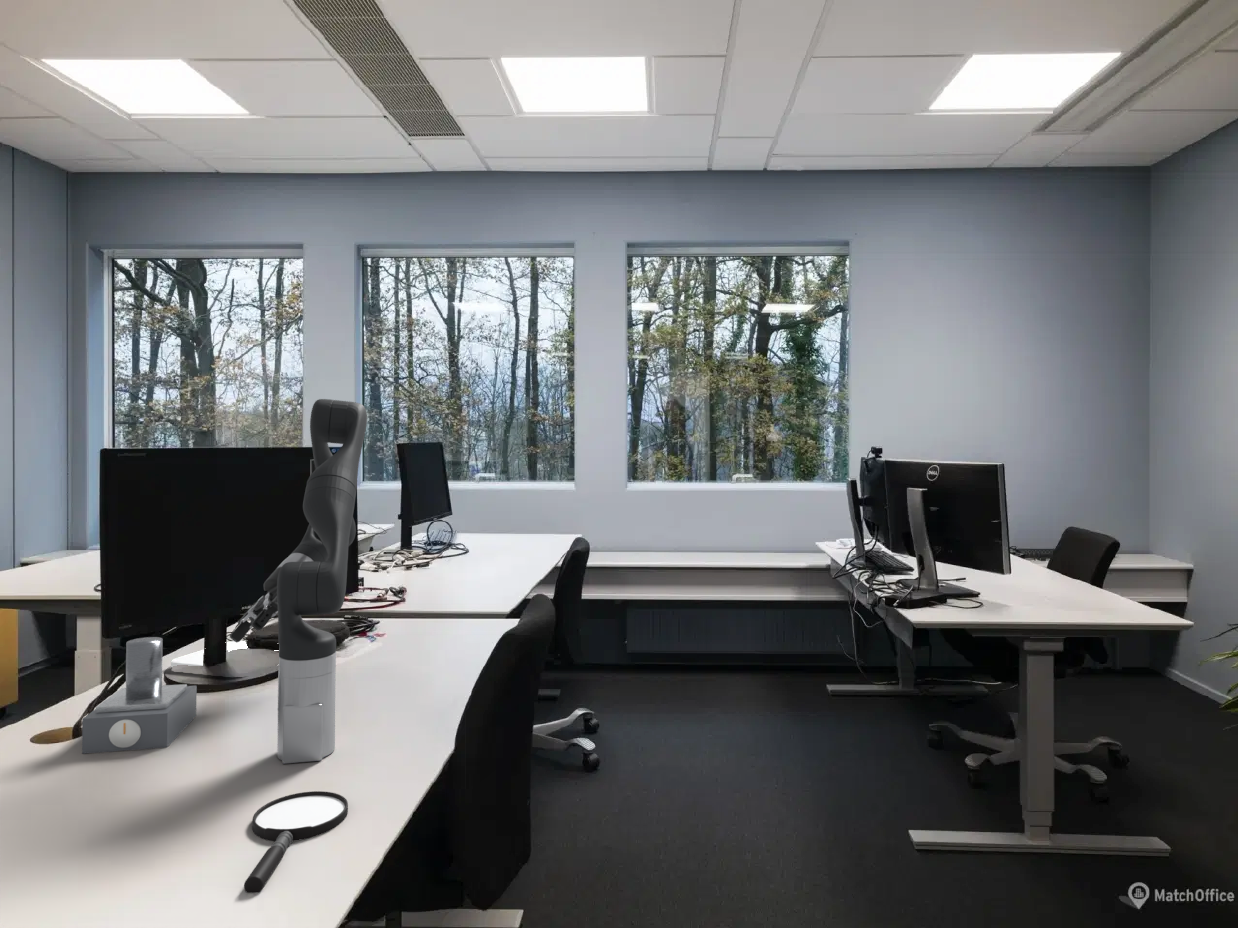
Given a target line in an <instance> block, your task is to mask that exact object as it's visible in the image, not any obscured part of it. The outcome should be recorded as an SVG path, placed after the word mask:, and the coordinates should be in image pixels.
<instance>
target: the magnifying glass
mask: <svg viewBox="0 0 1238 928" xmlns="http://www.w3.org/2000/svg"><path fill="white" fill-rule="evenodd" d="M348 803H349V802H348V800H347V798H346V797H344V796H343V795H340V794H339V793H336V792H332V791H322V790H321V791H319V790H318V791H316V790H315V791H304V792H298V793H293V794H292V793H291V794H289V795H285V796H282V797H279V798H276V799H274V800H272V801H270V802H267V803H265V804H264V805H262V806H261V807H260V808H258V809H257V810H256V812H255V813H254V814H253V816H252V821H251V822H252V824H251V825H252V827H251V829H252V833H253V834H254V835H255V836H256V837H259V838H260V839H262V840H266V841H271V842H273V843H272V844H271V846H270V847H269V848H268V849H267V850H266V852H265V853H264V854H263V856H262V857H261V859H260V860H259V862H258V863H257V864H256V865H255V867H254V869H253V870H252V871H251V873H250V874H249V875H248V877H247V878H246V880H245V882H244V885H243V889H244V891H245V893H247V894H255V893H260V892H261V891H262V890H263V888H264V887H265V885H266V884H267V883H268V881H269V879H270V878H271V876H272V875H273V873H274V872H275V870H276V869H277V867H278V865H279V864H280V862H281V861H282V859H283V858H284V854H286V852H287V849H288V847H290V846H291V844H292V842H296V841H302V840H306V839H310V838H314V837H317V836H320V835H323V834H325V833H327V832H329V831H331V830H333V829H335V828H336V827H338V826H339V825H340V824H342V823H343V822H344V821H345V819H346V818H347V817H348V814H349V804H348Z"/></svg>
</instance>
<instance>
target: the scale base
mask: <svg viewBox="0 0 1238 928" xmlns="http://www.w3.org/2000/svg"><path fill="white" fill-rule="evenodd" d="M197 690H198V688H197V685H187V690H186V691H184V692H183V693H182V694H181V695H180V696H179V697H178V698H177V699H176V700H175V701H174V702H173V703H172V704H171V705H170V706H168V707H167V708H166V709H150V710H134V711H118V712H103V713H96V708H95V709H93V710H92V711H91V712H90V713H88V714H87V715H86V716H84V717H83V718H82V719H81V720H82V721H81V723H82V728H81V729H82V730H81V731H82V733H81V736H82V737H81V742H82V743H81V754H94V753H95V754H97V753H107V752H109V753H110V752H122V751H123V752H124V751H133V750H134V751H135V750H149V749H150V750H151V749H161V748H163V749H164V748H168V747H169V746H170V745H171V744H172V743H173V742H174V741H175V740H176V738H177V737H178V736H179V735H180V734H181V733H182V732H183V731H184V730H185V728H187V727H188V725H189V724H190V723H191V722H192V721H193V720H194V719H195V718H196V717H197ZM195 716H196V717H195ZM194 717H195V718H194ZM193 718H194V719H193Z"/></svg>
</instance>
